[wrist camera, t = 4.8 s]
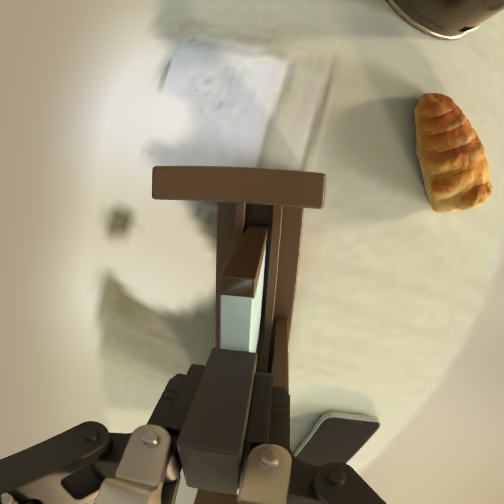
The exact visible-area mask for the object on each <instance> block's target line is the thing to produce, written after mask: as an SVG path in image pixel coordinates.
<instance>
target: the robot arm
mask: <svg viewBox="0 0 504 504" xmlns="http://www.w3.org/2000/svg"><path fill="white" fill-rule="evenodd" d="M387 1H388V2H389V4H390V5H391V6H392V7H393V9H394V10H395V11H396V12H397V13H398V14H399V15H400V16H401V17H403V18H404V19H405V20H406V21H407V22H409V23H410V24H411V25H413V26H414V27H416V28H417V29H419V30H420V31H422V32H424V33H426V34H428V35H430V36H433V37H435V38H438V39H443V40H456V39H459V38H460V37H462V36H464V35H465V34H466V33H468V32H471V31H473V30H475V29H477V28H479V27H480V26H479V27H476V28H474V27H475V26H477V25H479V24H480V23H482V22H484V21H485V20H487V19H489V18H490V17H492V16H493V15H495V14H497V13H498V12H500V11H502V10H503V9H504V0H387ZM472 28H473V29H472ZM204 369H205V366H203V365H196V364H192V365H191V366H190V368H189V370H188V373H187V375H184V374H177V375H176V376H174V377H173V378H172V379H170V380H169V382H168V384H167V386H166V388H165V391H164V392H163V394H162V396H161V398H160V399H159V401H158V403H157V405H156V407H155V409H154V411H153V413H152V415H151V417H150V419H149V421H148V423H147V424H146V425H143V426H140V427H138V428H137V429H135V430H134V431H133V433H128V434H124V433H109V432H108V430H107V428H106V427H105V426H104V425H102V424H101V423H98V422H94V421H88V422H84V423H81V424H80V425H77V426H75V427H73V428H71V429H69V430H67V431H65V432H63V433H61V434H59V435H56V436H54V437H52V438H50V439H48V440H46V441H43V442H41V443H39V444H37V445H34V446H32V447H30V448H28V449H25V450H23V451H21V452H18V453H16V454H13V455H11V456H8V457H6V458H3V459H1V460H0V504H88V503H90V502H91V501H93V500H95V502H94V504H175V500H176V495H177V491H178V486H179V482H180V472H181V469H182V465H181V461H180V457H179V453H178V448H177V444H176V442H177V439H178V437H179V434H180V432H181V429H182V426H183V424H184V421H185V419H186V416H187V413H188V411H189V408H190V405H191V403H192V400H193V398H194V395H195V392H196V390H197V387H198V385H199V382H200V379H201V377H202V374H203V372H204ZM272 376H273V374H269V373H258V372H255V375H254V382H253V389H252V395H251V402H250V408H249V415H248V421H247V428H246V434H245V440H244V454H243V468H242V474H243V478H242V482H241V485H240V489H239V493H238V496H237V500H236V503H235V504H386V503H385V502H384V501H383V500H382V499H381V498H380V497H379V496H378V495H377V493H376V492H375V491H374V490H372V488H371V487H370V486H369V485H368V484H367V483H366V482H365V481H364V480H363V479H362V478H361V477H360V476H359V475H358V474H357V473H356V472H355V470H354V469H353V468H352V467H350V466H349V465H347V464H345V463H341V462H329V463H326V464H324V465H322V466H320V467H319V466H315V465H312V464H308V463H305V462H302V461H300V460H299V459H297V458H296V457H295V456H294V455H293V453H292V452H291V449H290V396H289V394H288V392H287V390H286V389H285V387H278V386H272Z"/></svg>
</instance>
